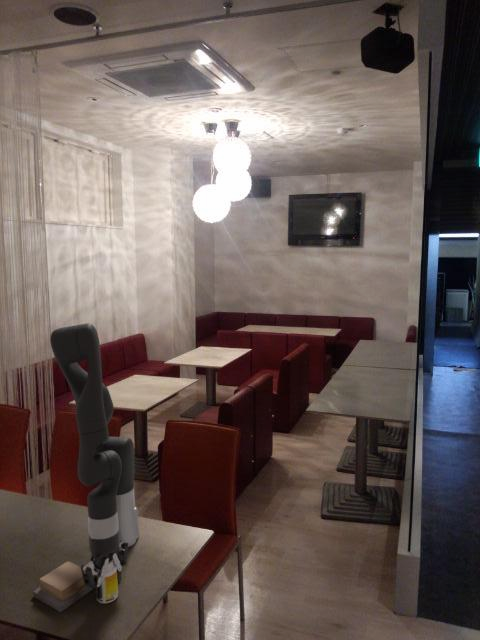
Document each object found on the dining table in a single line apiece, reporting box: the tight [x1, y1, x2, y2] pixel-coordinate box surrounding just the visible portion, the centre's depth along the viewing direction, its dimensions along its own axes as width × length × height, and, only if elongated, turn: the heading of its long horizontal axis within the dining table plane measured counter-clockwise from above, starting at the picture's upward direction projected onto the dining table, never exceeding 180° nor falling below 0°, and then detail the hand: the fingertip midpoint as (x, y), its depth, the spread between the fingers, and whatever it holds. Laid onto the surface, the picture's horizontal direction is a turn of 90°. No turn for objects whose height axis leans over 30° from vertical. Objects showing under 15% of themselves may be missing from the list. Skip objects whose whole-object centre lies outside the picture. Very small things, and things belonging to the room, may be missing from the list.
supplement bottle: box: [96, 560, 119, 604], centre depth 131 cm, size 6×6×10 cm
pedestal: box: [32, 560, 93, 613], centre depth 134 cm, size 12×11×4 cm
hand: (107, 590), depth 131 cm, fingers closed on supplement bottle, 5 cm apart
